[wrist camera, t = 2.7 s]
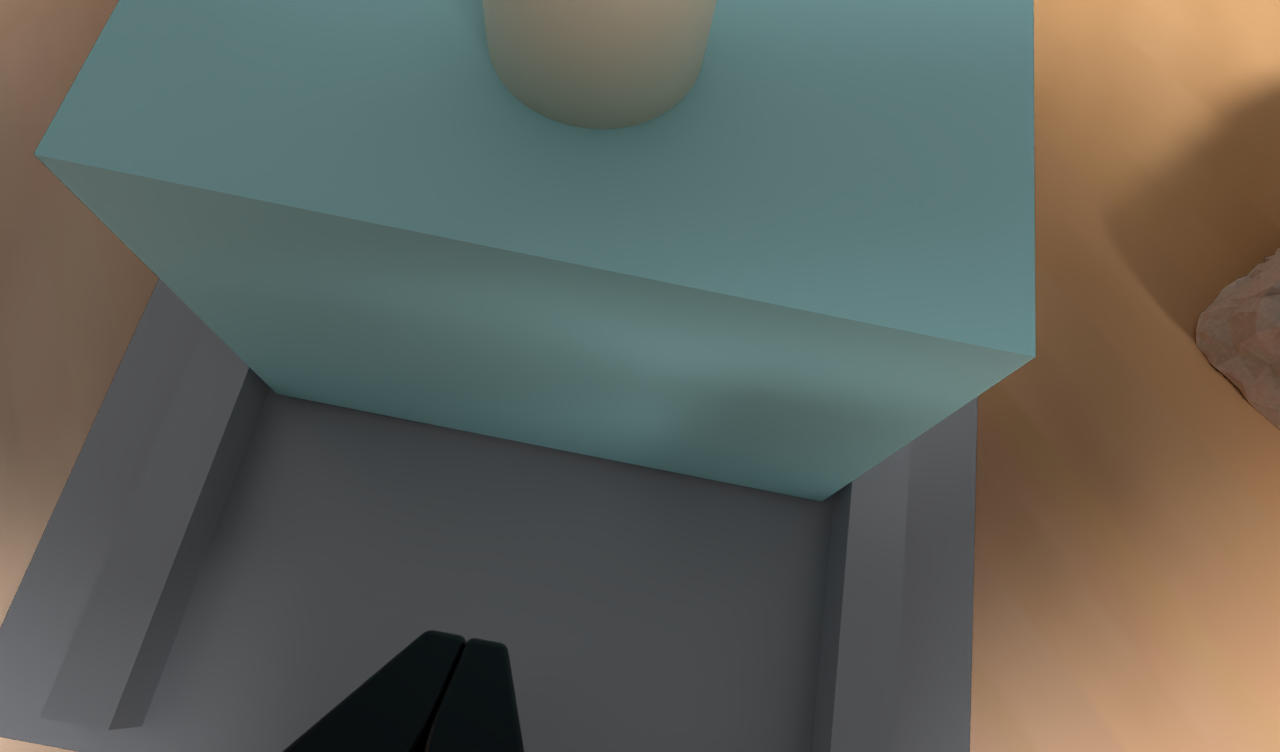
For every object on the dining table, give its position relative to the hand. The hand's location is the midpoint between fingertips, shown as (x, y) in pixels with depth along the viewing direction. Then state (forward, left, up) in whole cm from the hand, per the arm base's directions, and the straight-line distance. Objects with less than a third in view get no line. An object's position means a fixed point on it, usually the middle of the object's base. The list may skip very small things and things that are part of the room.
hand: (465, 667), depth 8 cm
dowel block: (+7, 0, -5) cm, 8 cm away
